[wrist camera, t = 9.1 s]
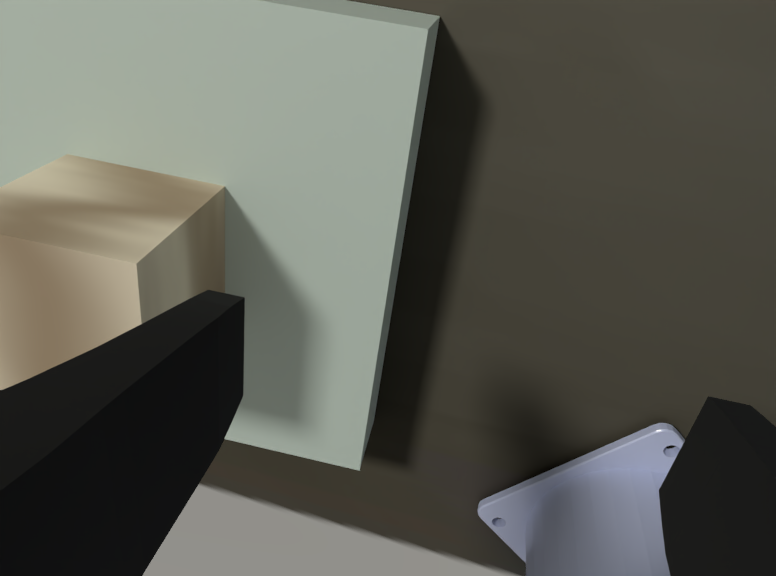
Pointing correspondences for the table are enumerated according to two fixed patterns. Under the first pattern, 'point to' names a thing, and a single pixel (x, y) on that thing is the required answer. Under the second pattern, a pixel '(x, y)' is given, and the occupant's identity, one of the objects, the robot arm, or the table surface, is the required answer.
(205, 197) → the maple block
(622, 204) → the table surface
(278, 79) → the base board
